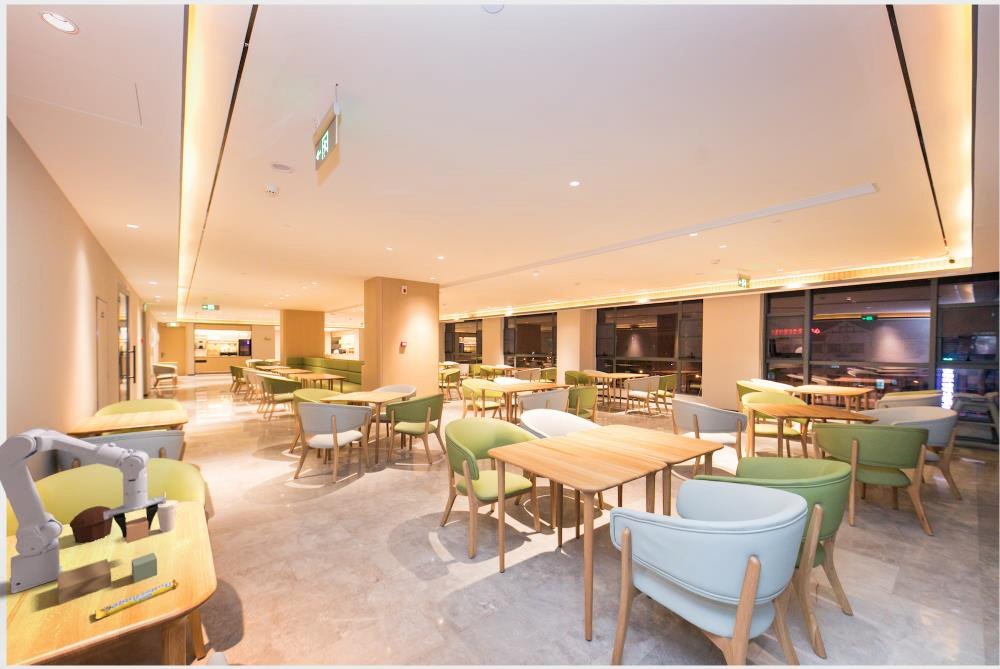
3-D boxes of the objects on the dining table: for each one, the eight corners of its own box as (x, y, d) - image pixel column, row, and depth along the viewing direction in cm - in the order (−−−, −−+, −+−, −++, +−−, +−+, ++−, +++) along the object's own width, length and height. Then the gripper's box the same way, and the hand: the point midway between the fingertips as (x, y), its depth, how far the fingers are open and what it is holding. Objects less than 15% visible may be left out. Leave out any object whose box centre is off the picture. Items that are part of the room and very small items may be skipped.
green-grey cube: (134, 583, 114) (134, 566, 114) (131, 576, 117) (131, 559, 117) (157, 575, 118) (156, 558, 118) (154, 568, 121) (153, 552, 121)
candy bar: (176, 582, 115) (176, 576, 115) (180, 589, 112) (180, 582, 112) (93, 615, 102) (93, 608, 102) (95, 623, 99) (95, 616, 99)
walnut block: (59, 604, 105) (58, 590, 105) (57, 588, 112) (57, 574, 112) (111, 585, 113) (110, 572, 113) (107, 571, 120) (107, 558, 119)
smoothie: (155, 529, 144) (154, 491, 144) (177, 523, 149) (176, 486, 148) (156, 536, 140) (155, 497, 139) (179, 529, 144) (178, 491, 144)
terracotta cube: (127, 543, 122) (126, 527, 122) (125, 537, 126) (124, 522, 126) (148, 536, 126) (148, 521, 126) (145, 531, 130) (145, 516, 129)
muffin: (81, 532, 143) (80, 505, 142) (121, 525, 147) (120, 499, 147) (62, 549, 132) (61, 519, 132) (106, 541, 137) (105, 512, 136)
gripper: (104, 502, 118) (106, 547, 118) (167, 486, 129) (168, 528, 129) (102, 495, 122) (103, 538, 122) (163, 481, 133) (164, 521, 133)
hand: (136, 532), depth 126 cm, fingers closed on terracotta cube, 5 cm apart
